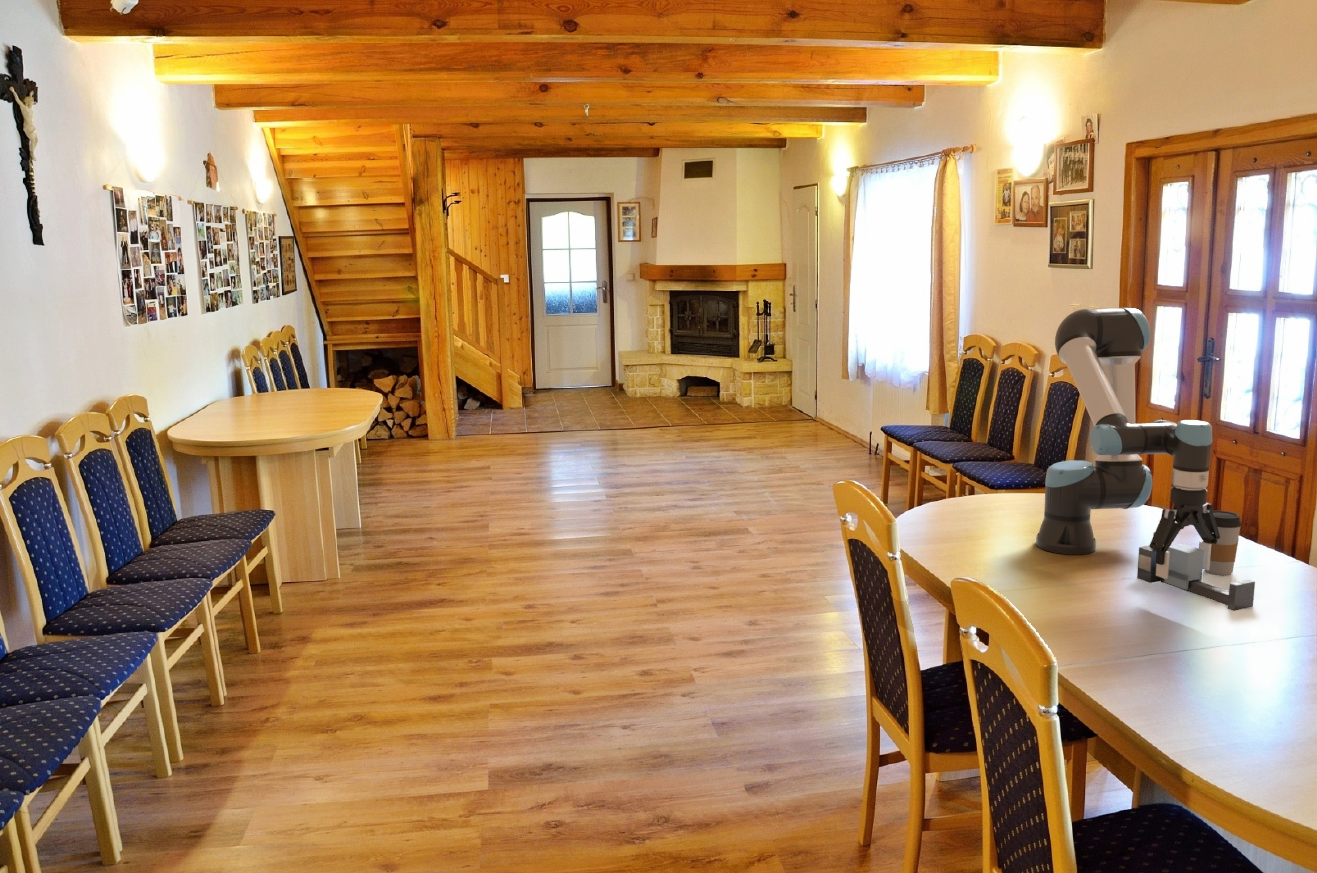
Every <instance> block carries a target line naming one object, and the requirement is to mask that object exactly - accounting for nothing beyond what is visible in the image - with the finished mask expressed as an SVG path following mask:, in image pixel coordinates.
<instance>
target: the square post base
mask: <svg viewBox="0 0 1317 873" xmlns="http://www.w3.org/2000/svg"><path fill="white" fill-rule="evenodd" d="M1255 586H1256V581H1255V580H1252V579H1249V578H1247V579H1244V580H1240V581H1234V582H1230V583H1229V588H1228V591H1229V598H1228V605H1227V610H1230V611H1233V612H1236V611H1240V610H1245V609H1249V608H1254V598H1255V588H1256V587H1255Z"/></svg>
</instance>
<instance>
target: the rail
mask: <svg viewBox="0 0 1317 873" xmlns="http://www.w3.org/2000/svg"><path fill="white" fill-rule="evenodd" d="M1160 583H1162V584H1164V585H1168V586H1171V587H1173V588H1177V589H1179V590H1182V591H1185V592H1189V593H1190V594H1194V595H1197V596H1199V597H1202V598H1205V599H1209V600H1211V601H1214V602H1217V603H1219V604H1222V605H1225V606H1228V598H1229V590H1227V589H1223V588H1221V587H1217V586H1216V585H1212V584H1209V583H1206V582H1203V581H1202V582H1201V581H1198V580H1192V581H1189V583H1188V589H1187V590H1185V589H1182V588H1179V587H1177V586H1174V585H1171V584H1168V583H1165V582H1164V578H1161V581H1160Z"/></svg>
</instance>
